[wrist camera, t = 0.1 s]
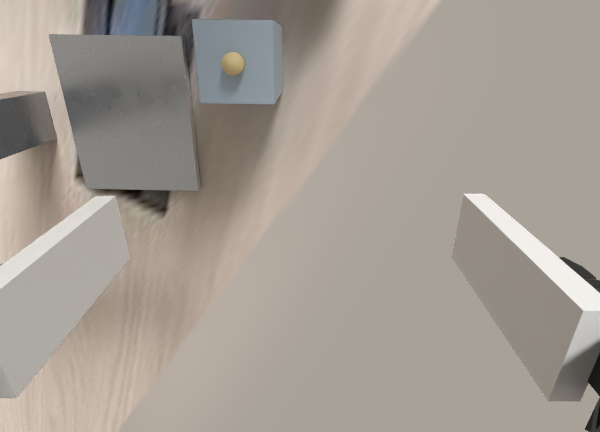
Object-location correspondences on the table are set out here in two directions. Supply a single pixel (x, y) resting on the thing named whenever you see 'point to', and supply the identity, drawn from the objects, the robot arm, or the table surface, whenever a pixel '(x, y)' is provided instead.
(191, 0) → the table surface
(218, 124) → the table surface
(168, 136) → the press
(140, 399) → the table surface
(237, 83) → the block
